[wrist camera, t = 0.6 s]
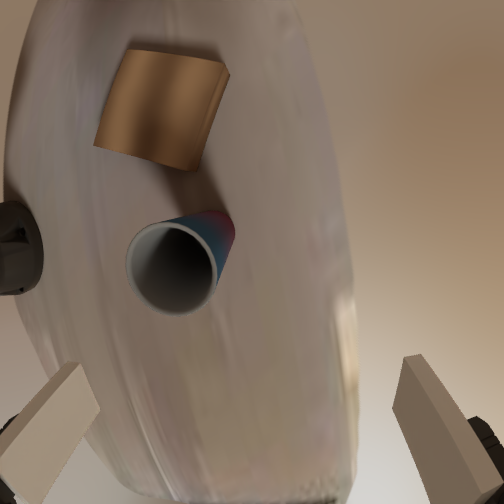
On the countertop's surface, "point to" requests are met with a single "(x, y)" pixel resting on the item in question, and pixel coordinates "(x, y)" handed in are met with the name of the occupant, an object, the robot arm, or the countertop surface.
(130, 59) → the base block
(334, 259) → the countertop surface
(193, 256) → the cup
